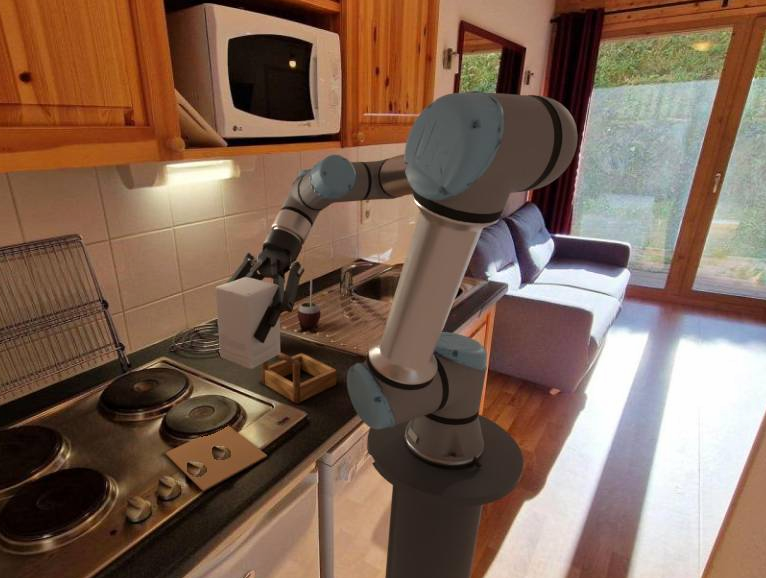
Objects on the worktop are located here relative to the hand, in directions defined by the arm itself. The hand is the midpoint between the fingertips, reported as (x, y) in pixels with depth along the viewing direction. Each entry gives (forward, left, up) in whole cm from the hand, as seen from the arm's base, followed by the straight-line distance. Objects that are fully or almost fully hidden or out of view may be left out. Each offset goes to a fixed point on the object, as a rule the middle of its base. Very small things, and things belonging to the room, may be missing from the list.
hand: (238, 334), depth 92 cm
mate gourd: (+30, -46, -22) cm, 59 cm away
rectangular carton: (+1, -3, -6) cm, 7 cm away
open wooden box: (+6, -21, -22) cm, 31 cm away
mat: (-4, +9, -22) cm, 24 cm away
